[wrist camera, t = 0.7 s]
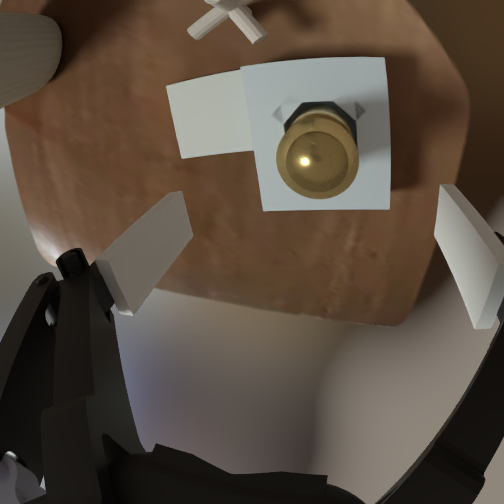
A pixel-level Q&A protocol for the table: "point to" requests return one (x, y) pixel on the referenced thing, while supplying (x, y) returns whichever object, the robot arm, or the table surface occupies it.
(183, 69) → the table surface
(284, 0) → the table surface
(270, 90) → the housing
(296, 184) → the gold metal cylinder
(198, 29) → the pipe connector
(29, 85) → the canister
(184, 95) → the mat
